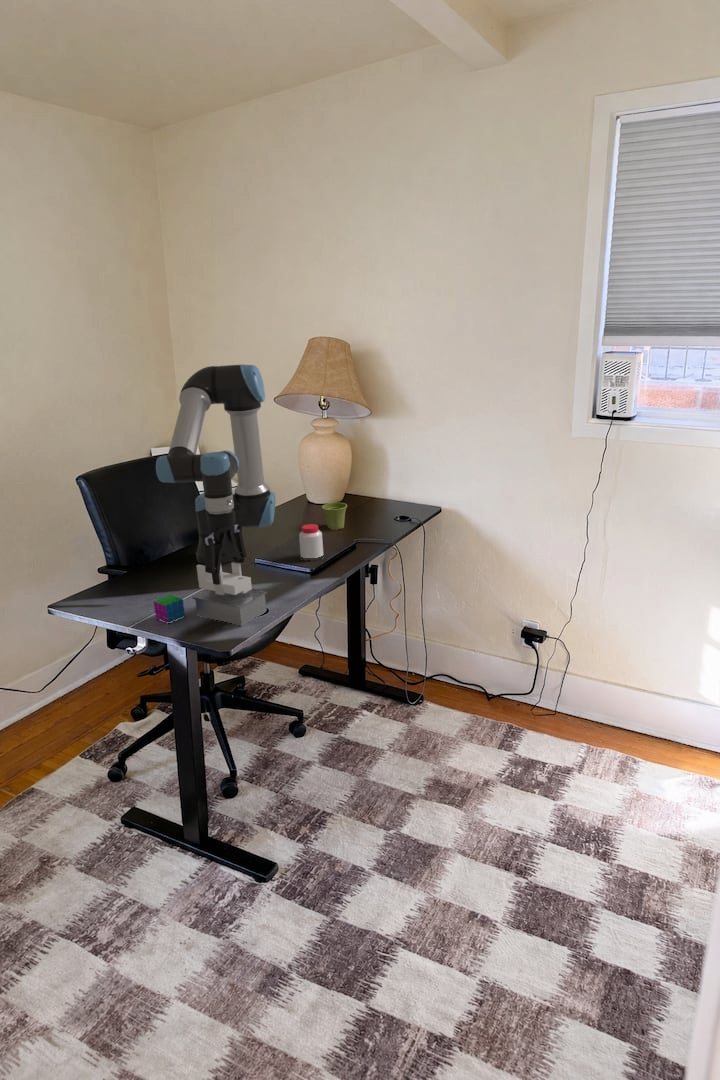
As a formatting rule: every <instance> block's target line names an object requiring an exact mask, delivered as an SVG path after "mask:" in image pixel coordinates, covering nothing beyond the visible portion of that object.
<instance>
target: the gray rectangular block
mask: <svg viewBox="0 0 720 1080" xmlns="http://www.w3.org/2000/svg"><path fill="white" fill-rule="evenodd" d="M266 594H268V591H266V590H263V589H257V588H253V587H252V589H251V590H250V591H248V592H246V593H244V594H243V593H238V594H236V595H232V594H227V593H225V595H219V594H215V591H213V590H208V589H204V590H203V591H201V592H199V593H198V594H195V595H193V596H192V600H195V607H196V616H197V615H199V616H202V617H201V618H203V617H206V618H205V619H207V618H210V619H209V620H212V619H215V620H214V621H216V620H219V621H218V622H220V621H224V622H228V623H227V624H229V623H232V624H231V625H233V624H236V625H235V626H237V625H240V626H239V627H243V626H242V625H244V624H245V625H247V624H248V623H250V622H252V621H253V620H254V619H253V618H255V617H256V618H258V617H259V615H260V614H261V615H263V614H264V613H266V612H267V604H266V603H267V601H266ZM262 613H263V614H262ZM261 615H260V616H261ZM199 616H198V617H199ZM257 616H258V617H257ZM256 618H255V619H256ZM252 619H253V620H252ZM251 620H252V621H251ZM249 621H250V622H249ZM224 622H223V623H224ZM246 623H247V624H246ZM245 625H244V626H245Z"/></svg>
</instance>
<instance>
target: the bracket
mask: <svg viewBox="0 0 720 1080" xmlns="http://www.w3.org/2000/svg"><path fill="white" fill-rule="evenodd" d="M215 569H216V568H215ZM220 572H222V575H223V584H224V593H227V594H232V595H236V594H238V593H243V594H244V593H246V592H248V591H250V590H251V589H252V588H253V586H252V578H251V576H244V575H242V576H241V575H235V574H233V573H229V572H226V571H225V572H224V571H223V568H222V565H221V566H220ZM196 573H197V582H198V587H199V589H204V590H207V589H208V590H213V591H215V586H214V584H213V579H212V573H207V572H205V564H197V565H196Z"/></svg>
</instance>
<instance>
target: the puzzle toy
mask: <svg viewBox="0 0 720 1080" xmlns="http://www.w3.org/2000/svg"><path fill="white" fill-rule="evenodd" d="M153 608H154V613H155V619H156V618H158V619H161V620H163V621H165V622H171V621H173V620H176V619H178V618H181V617H183V616H185V617H186V614H185V606H184V599H183V598H180V597H178V596H175V595H173V594H168V595H166V596H162V597H161V598H158V599H155V600H154V601H153Z"/></svg>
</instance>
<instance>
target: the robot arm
mask: <svg viewBox="0 0 720 1080" xmlns="http://www.w3.org/2000/svg"><path fill="white" fill-rule="evenodd" d="M178 397H179V398H178V401H179V404H180V407H179V411H178V413H177V414H178V415H177V419H176V422H175V426H174V429H173V434H172V438H171V441H170V446H169V449H168V453H167V454H164V455H160V456H158V457H157V459H156V461H155V473H156V476H157V478H158V481H160V482H161V483H165V484H166V483H171V484H176V483H193V482H202V487H203V492H202V493H201V494H199V495H197V497H195V500H194V502H195V505H194V506H195V510H194V511H195V514H196V516H195V517H196V521H197V530H198V538H199V539H198V544H197V548H196V553H195V555H196V561H197V562H198V563H199V564H201V565H204V566H205V572H207V573H212V579H213V584H214V586H215V594H219V595H225V593H224V584H223V575H222V572H223V571H222V572H220V566H221V567H222V565H224V564H229V563H230V565H231V571H232V572H231V574H235V575H241V576H243V575H242V572H243V566H242V563H244V562H245V558H246V557H247V553H246V548H245V543H244V542H245V541H244V537H243V529H248V528H249V529H252V528H254V529H255V528H258V529H261V528H267V527H270V526H272V524H273V522H274V519H275V512H276V511H275V510H276V494H275V492H273V491H271V490H270V489H271V488H270V486H269V485H268V484H267V483H265V478H264V467H263V460H262V459H263V458H262V451H261V450H262V449H261V439H260V430H259V421H258V411H259V410H260V409H261V408H262V403H263V402H265V400H266V393H265V384H264V380H263V377H262V374H261V371H260V369H259V368H258V367H257V366H256V365H253V364H244V363H242V364H231V365H230V364H229V365H217V366H216V365H212V366H204V367H203V368H201V369H199V370H197V371H196V372H195V373H193V374H192V375H191V376H190V377H189V378H188V379H187V380H186V382H185V383H184V384H183V386H182V388H181V390H180V394H179V396H178ZM219 404H220V405H221V404H222V405H223V408H224V411H225V412H226V413H227V414H228V415H229V419H230V426H231V434H232V442H233V444H232V445H233V451H230V450H222V451H211V452H206V453H200V454H197V450H198V446H199V443H200V437H201V433H202V430H203V429H202V428H203V424H204V421H205V415H206V412H207V411H208V410H209V409H210V407H211V405H219ZM235 476H237V483H238V485H237V486H236V488H234V490H233V487H232V486H233V485H232V483H233V482H232V479H233V478H234V477H235ZM233 491H234V493H233ZM215 568H216V569H215Z"/></svg>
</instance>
